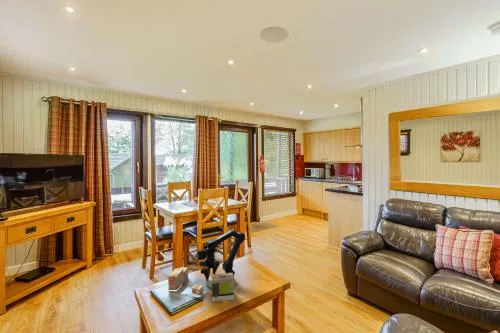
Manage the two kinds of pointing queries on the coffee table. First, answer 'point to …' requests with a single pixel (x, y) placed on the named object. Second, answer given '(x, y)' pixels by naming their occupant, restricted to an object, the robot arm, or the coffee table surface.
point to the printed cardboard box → (177, 278)
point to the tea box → (222, 287)
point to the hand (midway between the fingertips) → (210, 278)
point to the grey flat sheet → (201, 282)
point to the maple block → (198, 289)
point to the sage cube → (209, 282)
